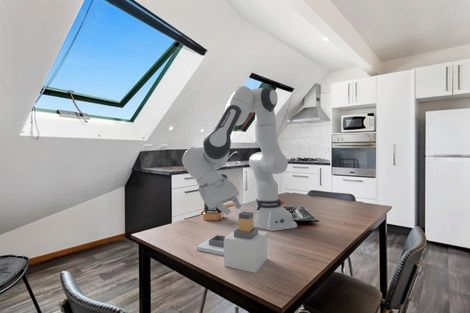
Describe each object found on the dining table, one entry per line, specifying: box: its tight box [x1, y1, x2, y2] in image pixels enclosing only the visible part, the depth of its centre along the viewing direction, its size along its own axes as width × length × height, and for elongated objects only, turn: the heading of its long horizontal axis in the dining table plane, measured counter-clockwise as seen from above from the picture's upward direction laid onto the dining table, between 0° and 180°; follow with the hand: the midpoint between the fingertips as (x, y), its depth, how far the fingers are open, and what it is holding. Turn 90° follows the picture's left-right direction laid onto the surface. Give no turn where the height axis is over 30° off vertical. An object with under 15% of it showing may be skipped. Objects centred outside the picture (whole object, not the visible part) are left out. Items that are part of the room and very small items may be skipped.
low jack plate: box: [196, 234, 227, 257], centre depth 108 cm, size 14×14×4 cm
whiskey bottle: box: [202, 201, 225, 222], centre depth 150 cm, size 10×10×32 cm
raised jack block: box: [223, 227, 268, 274], centre depth 93 cm, size 12×12×12 cm
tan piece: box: [238, 211, 254, 233], centre depth 93 cm, size 4×4×8 cm
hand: (234, 210), depth 95 cm, fingers open, 8 cm apart
